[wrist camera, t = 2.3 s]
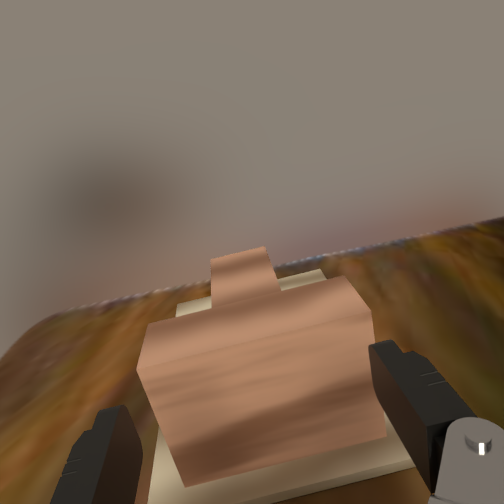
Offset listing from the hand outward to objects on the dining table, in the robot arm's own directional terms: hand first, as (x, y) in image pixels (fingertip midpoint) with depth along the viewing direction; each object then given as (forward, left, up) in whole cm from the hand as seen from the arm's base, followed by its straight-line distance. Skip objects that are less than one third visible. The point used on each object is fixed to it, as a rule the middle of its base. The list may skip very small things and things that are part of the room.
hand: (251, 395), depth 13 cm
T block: (-12, -12, -14) cm, 22 cm away
